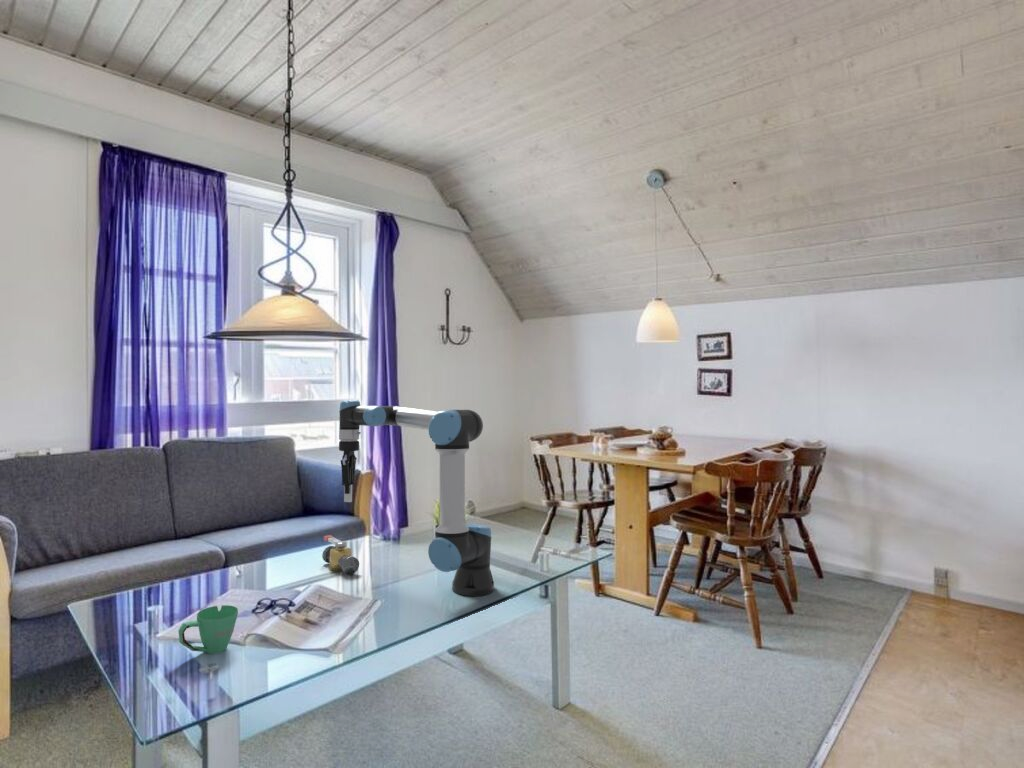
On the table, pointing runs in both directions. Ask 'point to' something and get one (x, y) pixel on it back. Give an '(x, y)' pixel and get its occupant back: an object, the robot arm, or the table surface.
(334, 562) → the valve body
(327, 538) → the lever
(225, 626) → the mug
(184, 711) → the table surface
